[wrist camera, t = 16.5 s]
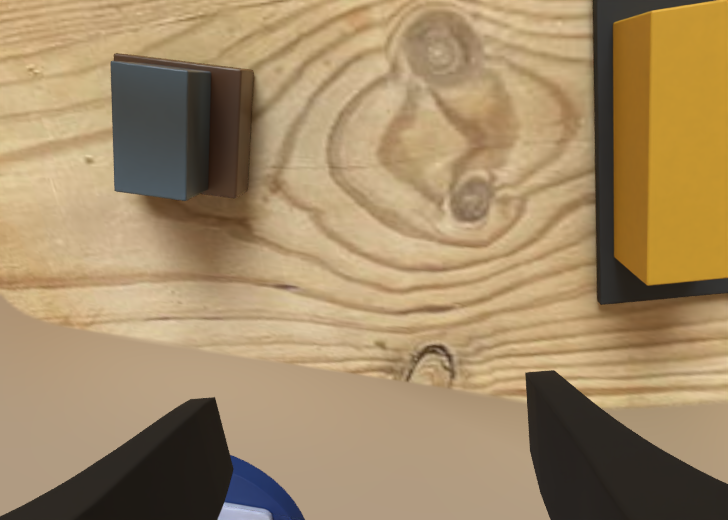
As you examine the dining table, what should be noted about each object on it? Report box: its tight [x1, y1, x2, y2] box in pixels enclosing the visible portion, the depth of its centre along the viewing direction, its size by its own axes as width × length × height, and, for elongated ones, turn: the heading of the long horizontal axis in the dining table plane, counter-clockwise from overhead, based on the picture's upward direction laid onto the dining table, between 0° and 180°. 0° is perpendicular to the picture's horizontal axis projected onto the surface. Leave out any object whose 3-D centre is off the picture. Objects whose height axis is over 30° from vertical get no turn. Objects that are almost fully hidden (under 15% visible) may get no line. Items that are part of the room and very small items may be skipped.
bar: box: [613, 0, 728, 286], centre depth 17 cm, size 8×3×3 cm, turn 8°
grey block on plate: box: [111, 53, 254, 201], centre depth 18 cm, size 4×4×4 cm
